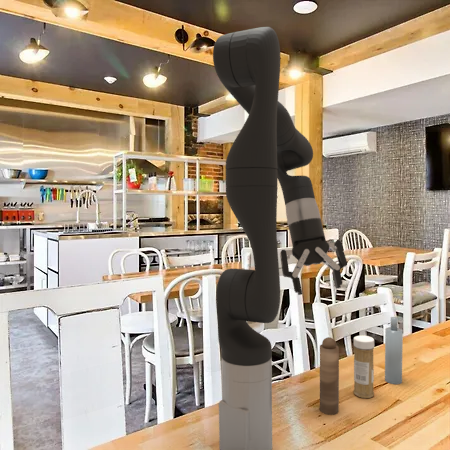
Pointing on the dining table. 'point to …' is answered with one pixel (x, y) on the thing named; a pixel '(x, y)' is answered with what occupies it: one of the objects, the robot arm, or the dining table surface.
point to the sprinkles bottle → (363, 366)
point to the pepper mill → (329, 377)
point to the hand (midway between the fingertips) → (319, 291)
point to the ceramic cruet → (393, 353)
